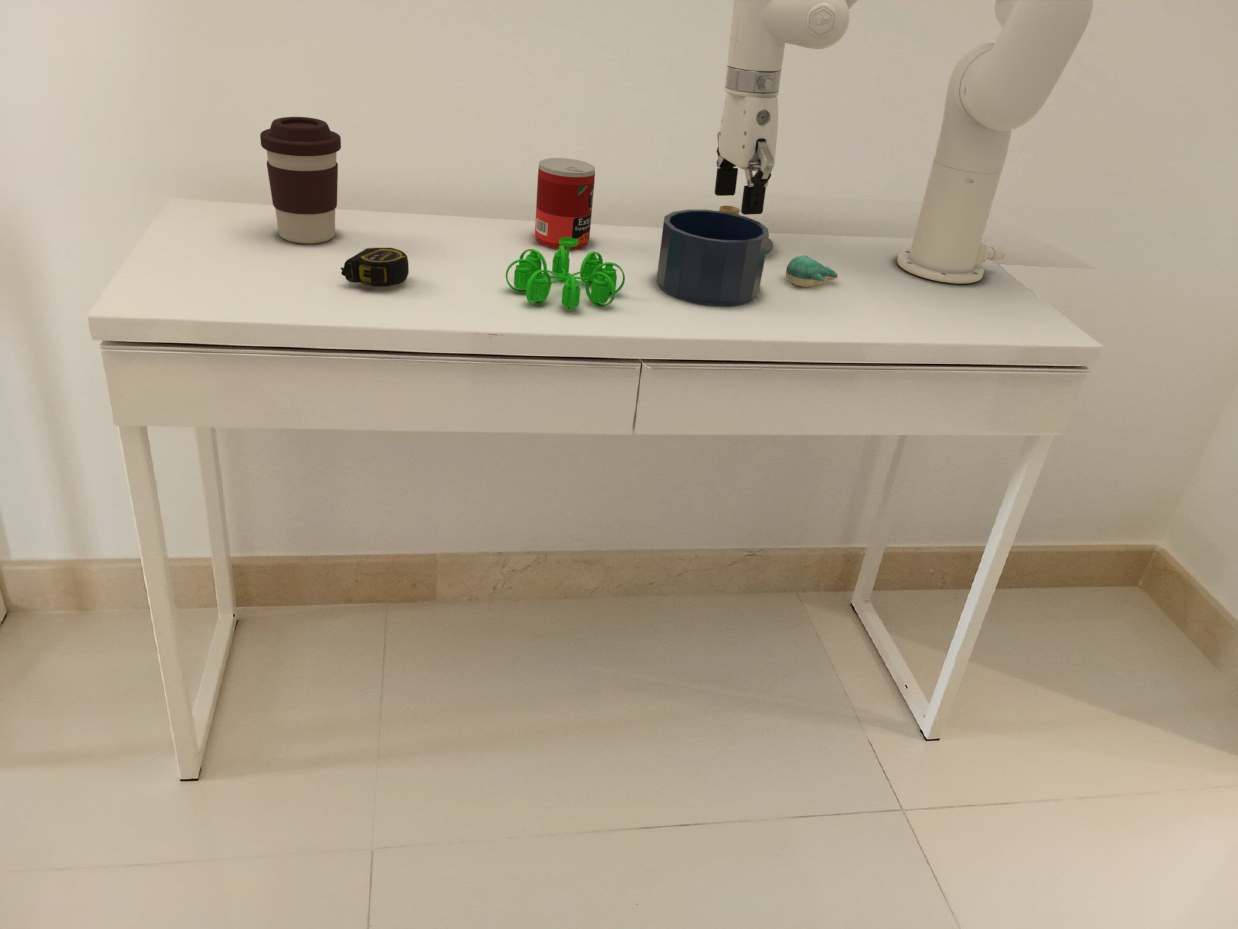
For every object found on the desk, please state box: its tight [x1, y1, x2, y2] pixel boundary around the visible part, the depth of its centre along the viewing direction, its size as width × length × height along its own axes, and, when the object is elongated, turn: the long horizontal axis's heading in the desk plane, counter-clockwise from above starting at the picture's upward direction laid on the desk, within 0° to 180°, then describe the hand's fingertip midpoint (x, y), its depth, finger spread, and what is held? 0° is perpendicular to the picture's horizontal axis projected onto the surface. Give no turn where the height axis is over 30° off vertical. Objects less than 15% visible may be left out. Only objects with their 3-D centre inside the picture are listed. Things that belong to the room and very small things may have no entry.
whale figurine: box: [785, 254, 839, 288], centre depth 137 cm, size 6×7×4 cm
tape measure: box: [340, 247, 410, 288], centre depth 121 cm, size 7×7×4 cm
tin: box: [656, 208, 770, 308], centre depth 130 cm, size 14×14×8 cm
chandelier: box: [505, 237, 626, 312], centre depth 124 cm, size 15×15×7 cm
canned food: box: [534, 157, 596, 251], centre depth 140 cm, size 8×8×11 cm
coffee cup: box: [259, 116, 342, 244], centre depth 131 cm, size 10×10×15 cm
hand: (737, 204), depth 146 cm, fingers open, 9 cm apart
